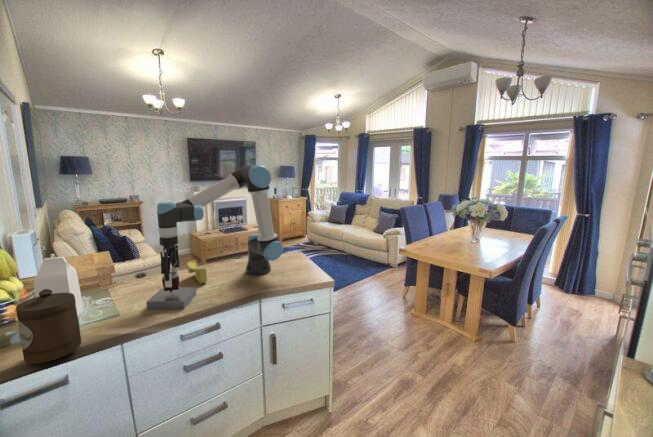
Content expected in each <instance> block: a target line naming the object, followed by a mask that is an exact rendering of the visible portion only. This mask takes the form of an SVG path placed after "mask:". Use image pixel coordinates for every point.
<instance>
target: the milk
mask: <svg viewBox="0 0 653 437" xmlns="http://www.w3.org/2000/svg"><path fill="white" fill-rule="evenodd" d="M44 289H49V290H52V294H54V293H72V294H74V296H75V302H76V310H77V316H78V317H79V316H80V315H82V312H83V311H84V310H85V309H84V302H83V297H82V293H81V288H80V283H79V278H78V273H77V270H76V268H75V267H73V266H72V265H71V264H70V263H69V262H68V261H67V260H66V258H65V257H64V256H56V257H46V258H44V259H43V260H42V263H41V265H40V267H39V269H38V272H37V273H36V276H35V277H34V279H33V290H34V298H35V297H38V296H39V292H41V291H42V290H44Z"/></svg>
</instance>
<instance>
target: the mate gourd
mask: <svg viewBox="0 0 653 437" xmlns="http://www.w3.org/2000/svg"><path fill="white" fill-rule="evenodd" d="M177 262H178V261H177ZM177 262H176V263H177ZM176 263H175V264H174V265H173V267H172V268H173V270H172V272H171V271H170V273H171V280H172V287H165V279H164V274H162V275H163V276H162V279H161V282H162V286H163V287H162V288H164V289H165V290H164V291H170V292H172V290H178V289H179V288H178V287H180V286H179V285H180V276H179V273H178V274H177V273H176V272H174V268H175V265H176Z"/></svg>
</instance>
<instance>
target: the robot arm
mask: <svg viewBox="0 0 653 437" xmlns="http://www.w3.org/2000/svg"><path fill="white" fill-rule="evenodd" d="M271 182H272V173H271V172H270V170H269V169H268V168H267V167H266V166H264V165H260V164H258V165H257V164H254V165H253V164H252V165H251V164H250V165H249V164H248V165H243V166H242V167H239V168H238V169H236V170H234V171H232V172H231V173H229V174H228V176H227V177H225V178H224V179H222V180H219V181H218V182H217V183H214V184H212V185H211V186H209V187H207V188H204V189H203V190H201V191H200V192H198V193H196V194H194V195H192V196H190V197H188V198H186V199H185V200H183V201H179V202H173V201H166V202H165V201H164V202H159V203H157V205H156V214H157V225H158V229H157V231H158V236H159V239H158V240H159V241H158V242H159V246H162V247H163V248H162V251H160V252H159V255H160V256H159V257H160V274H161V275H164V279H165V287H172V280H171V273H170V272H172V270H173V265H174V264H175V263H176V262H177V261H178V262H177V263H176V265H175V268H174V272H176V273H177V274H178V275H179V269H178V268H180V267H181V265H180V257H179V254H180V253H179V245H177V244H179V239H178V238H179V237H178V223H185V222H197V221H201V220H203V219H204V216H205V214H204V213H205V212H204V208H205V207H206V206H208V205H209V204H211V203H213V202H215V201H217V200H219V199H220V198H222V197H223V196H225V195H227V194H230V193H231V192H233V191H234V190H236V191H237V190H240V189H242V188H245V187H246V188H247V192H248V193H249V194H250V195H251V198H252V204H253V209H254V214H255V220H256V225H257V231H258V233H253V234H249V235H248V236H247V255H248V259H247V264H246V266H245V272H246V274H250V275H263V274H268V273H270V272H271V270H272V266H271V263H270V261H271V262H273V261H276V260H278V259H279V258H281V256H282V254H283V253H284V245H283V244H282V243H281V241H279V237H278V234H277V233H276V232H275V231H274V230H275V228H274V224H273V218H272V211H271V206H270V200H269V199H270V198H269V194H268V191H269V190H270V184H271Z"/></svg>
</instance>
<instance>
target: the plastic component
mask: <svg viewBox="0 0 653 437" xmlns="http://www.w3.org/2000/svg"><path fill="white" fill-rule="evenodd" d="M186 267H187V270H188V273H189V274H192V273H194V276H195V279H196V281H197V282H198V284H206V283H207V282H208V279H207V270H206V268H204V267H201V268H199V267H198V262H197V260H196V259H193V260H189V261H187V263H186Z"/></svg>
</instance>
